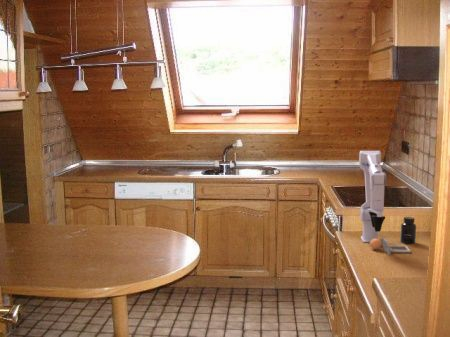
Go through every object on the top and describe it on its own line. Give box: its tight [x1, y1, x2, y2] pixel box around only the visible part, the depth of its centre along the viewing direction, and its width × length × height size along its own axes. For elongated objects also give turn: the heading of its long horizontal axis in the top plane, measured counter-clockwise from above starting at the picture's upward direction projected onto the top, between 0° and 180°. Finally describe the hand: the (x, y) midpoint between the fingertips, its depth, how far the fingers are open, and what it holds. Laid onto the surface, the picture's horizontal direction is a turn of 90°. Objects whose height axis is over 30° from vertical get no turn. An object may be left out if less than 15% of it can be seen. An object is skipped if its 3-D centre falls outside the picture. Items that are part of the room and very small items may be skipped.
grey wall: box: [381, 235, 392, 256], centre depth 235 cm, size 16×1×4 cm, turn 173°
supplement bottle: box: [400, 216, 417, 245], centre depth 246 cm, size 7×7×12 cm
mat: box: [390, 244, 412, 255], centre depth 235 cm, size 11×9×1 cm
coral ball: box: [369, 238, 382, 251], centre depth 236 cm, size 5×5×5 cm
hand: (376, 229), depth 235 cm, fingers open, 7 cm apart
